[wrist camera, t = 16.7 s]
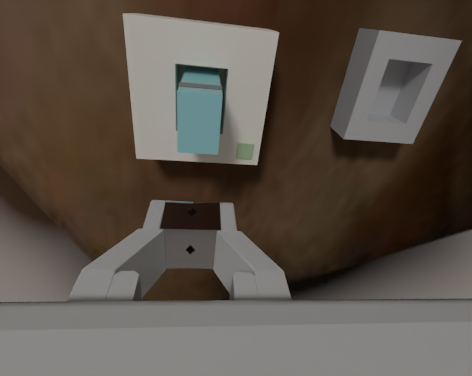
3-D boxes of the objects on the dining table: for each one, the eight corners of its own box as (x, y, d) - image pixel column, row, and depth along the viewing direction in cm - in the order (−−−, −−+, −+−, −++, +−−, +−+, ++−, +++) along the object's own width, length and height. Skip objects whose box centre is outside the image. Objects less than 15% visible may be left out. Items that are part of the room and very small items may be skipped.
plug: (186, 65, 26) (176, 90, 18) (218, 68, 27) (223, 94, 18) (185, 111, 29) (176, 152, 20) (215, 114, 29) (218, 155, 21)
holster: (359, 28, 27) (379, 30, 24) (432, 37, 28) (461, 40, 25) (330, 126, 32) (343, 139, 29) (392, 131, 33) (412, 143, 30)
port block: (137, 13, 25) (121, 13, 20) (267, 28, 26) (279, 32, 22) (145, 138, 31) (135, 159, 27) (250, 145, 33) (257, 166, 28)
